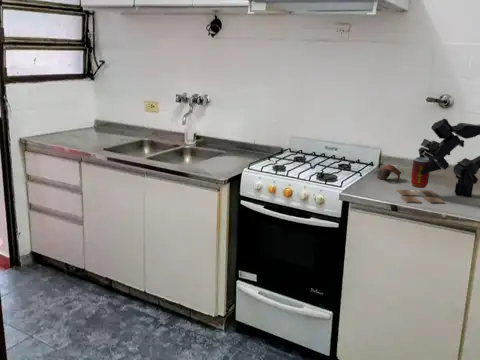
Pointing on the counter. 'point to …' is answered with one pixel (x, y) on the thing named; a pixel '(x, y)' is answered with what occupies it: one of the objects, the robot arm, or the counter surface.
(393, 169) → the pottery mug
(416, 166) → the soda can
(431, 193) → the brown wooden board
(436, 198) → the lane broken
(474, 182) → the robot arm
